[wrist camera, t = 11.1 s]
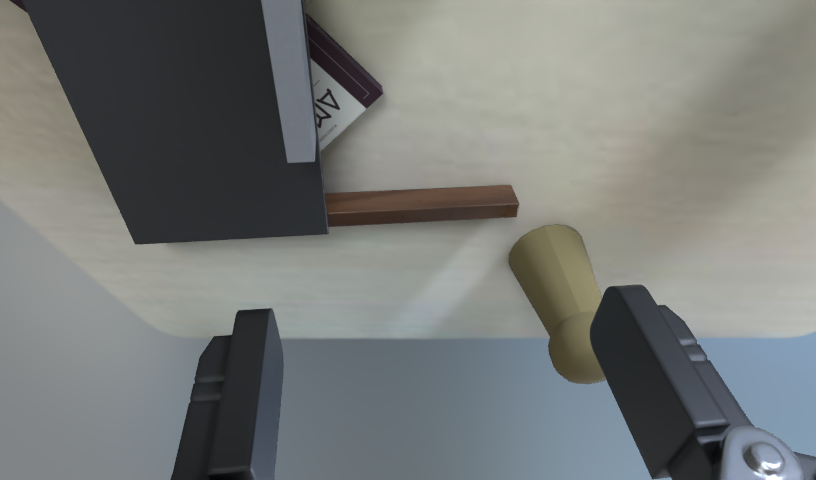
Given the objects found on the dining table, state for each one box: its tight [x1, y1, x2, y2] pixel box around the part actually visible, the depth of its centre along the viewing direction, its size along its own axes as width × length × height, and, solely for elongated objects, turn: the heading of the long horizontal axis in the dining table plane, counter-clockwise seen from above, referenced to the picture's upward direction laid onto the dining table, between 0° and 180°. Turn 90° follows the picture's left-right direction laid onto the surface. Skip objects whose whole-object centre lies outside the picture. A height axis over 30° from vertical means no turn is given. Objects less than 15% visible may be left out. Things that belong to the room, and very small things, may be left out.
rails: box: [325, 185, 519, 227], centre depth 26 cm, size 24×25×2 cm
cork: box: [509, 225, 606, 384], centre depth 36 cm, size 6×6×11 cm
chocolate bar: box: [10, 0, 383, 152], centre depth 25 cm, size 9×1×18 cm
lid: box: [22, 0, 329, 244], centre depth 23 cm, size 24×12×3 cm, turn 179°
